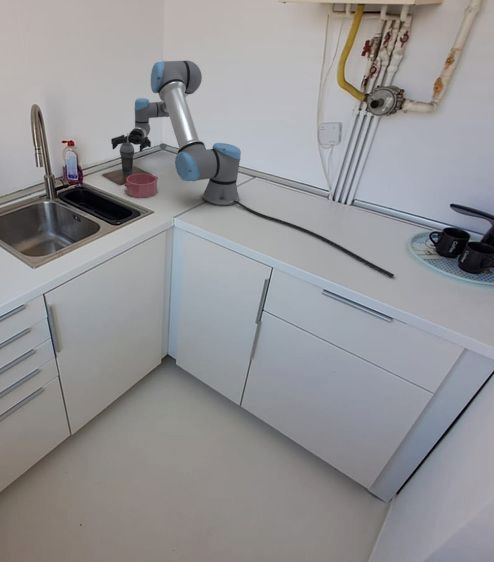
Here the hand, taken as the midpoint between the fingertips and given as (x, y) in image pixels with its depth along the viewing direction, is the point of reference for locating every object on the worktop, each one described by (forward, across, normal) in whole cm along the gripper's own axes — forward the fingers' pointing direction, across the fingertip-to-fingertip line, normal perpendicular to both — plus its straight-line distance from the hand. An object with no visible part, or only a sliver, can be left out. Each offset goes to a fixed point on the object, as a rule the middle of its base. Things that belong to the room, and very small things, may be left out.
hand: (126, 147), depth 178 cm
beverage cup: (-1, 0, -14) cm, 14 cm away
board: (0, 0, -14) cm, 14 cm away
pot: (+17, -11, -14) cm, 25 cm away
